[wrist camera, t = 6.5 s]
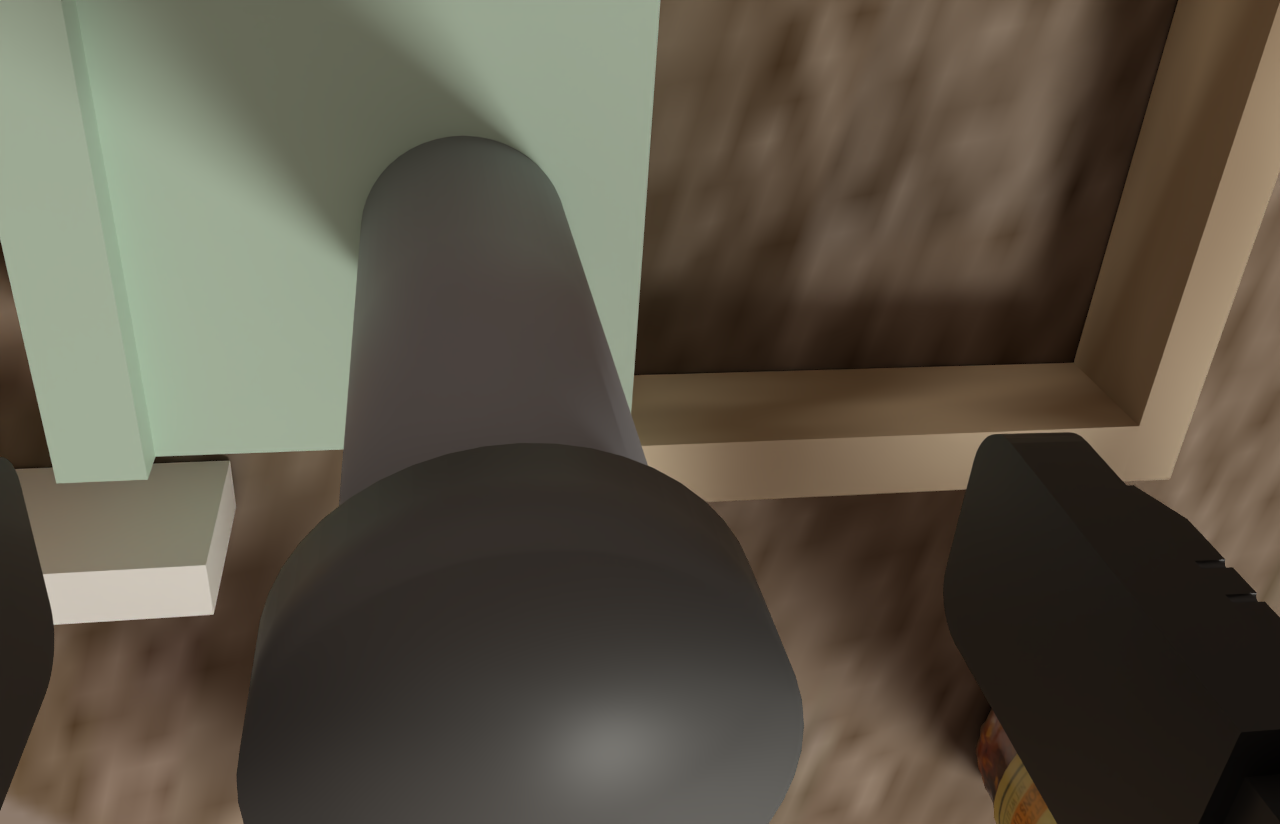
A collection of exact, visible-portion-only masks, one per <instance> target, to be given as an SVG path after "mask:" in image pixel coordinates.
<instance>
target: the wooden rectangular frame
mask: <svg viewBox="0 0 1280 824" xmlns="http://www.w3.org/2000/svg"><path fill="white" fill-rule="evenodd" d="M1279 171H1280V0H1178V2H1177V6H1176V9H1175V13H1174V16H1173V20H1172V23H1171V27H1170V30H1169V34H1168V37H1167V41H1166V44H1165V48H1164V51H1163V54H1162V58H1161V61H1160V65H1159V68H1158V72H1157V75H1156V79H1155V82H1154V86H1153V89H1152V93H1151V96H1150V100H1149V103H1148V106H1147V110H1146V113H1145V117H1144V120H1143V124H1142V127H1141V131H1140V134H1139V138H1138V141H1137V145H1136V148H1135V152H1134V155H1133V158H1132V162H1131V165H1130V169H1129V172H1128V176H1127V179H1126V183H1125V186H1124V190H1123V193H1122V197H1121V200H1120V204H1119V207H1118V211H1117V214H1116V217H1115V221H1114V224H1113V228H1112V231H1111V235H1110V238H1109V242H1108V245H1107V249H1106V252H1105V256H1104V259H1103V263H1102V266H1101V269H1100V273H1099V276H1098V280H1097V283H1096V287H1095V290H1094V294H1093V297H1092V301H1091V304H1090V308H1089V311H1088V315H1087V318H1086V321H1085V325H1084V328H1083V332H1082V335H1081V339H1080V342H1079V346H1078V349H1077V353H1076V356H1075V360H1074V363H1048V364H1013V365H978V366H942V367H907V368H872V369H837V370H802V371H767V372H731V373H696V374H661V375H634V381H633V395H632V409H631V415H632V418H633V421H634V425H635V428H636V431H637V434H638V437H639V440H640V443H641V446H642V449H643V452H644V455H645V458H646V461H647V464H648V466H650V467H652V468H655V469H657V470H658V471H660V472H662V473H664V474H666V475H667V476H669V477H671V478H673V479H675V480H677V481H678V482H680V483H682V484H683V485H684V486H686V487H687V488H688V489H690V490H691V491H692V492H694V493H695V494H696V495H698V496H699V497H700V498H702V499H703V500H704V501H705V502H721V501H741V500H761V499H782V498H802V497H822V496H842V495H863V494H883V493H903V492H923V491H944V490H964V489H966V488H967V485H968V481H969V477H970V473H971V469H972V465H973V461H974V458H975V455H976V452H977V450H978V448H979V446H980V444H981V443H982V441H983V440H984V439H985V438H986V437H988V436H990V435H992V434H1017V433H1056V432H1072V433H1076V434H1078V435H1080V436H1082V437H1083V438H1084V439H1085V440H1086V441H1087V442H1088V443H1089V444H1090V445H1091V447H1092V448H1093V449H1094V450H1095V451H1096V452H1097V453H1098V454H1099V455H1100V457H1101V458H1102V459H1103V460H1104V461H1105V462H1106V463H1107V464H1108V465H1109V467H1110V468H1111V469H1112V470H1113V471H1114V472H1115V473H1116V474H1117V475H1118V476H1119V478H1120V479H1121V480H1122V481H1123V482H1126V481H1146V480H1166V479H1170V477H1171V474H1172V471H1173V469H1174V466H1175V463H1176V460H1177V457H1178V455H1179V452H1180V449H1181V446H1182V443H1183V441H1184V438H1185V435H1186V432H1187V429H1188V427H1189V424H1190V421H1191V418H1192V415H1193V413H1194V410H1195V407H1196V404H1197V401H1198V398H1199V396H1200V393H1201V390H1202V387H1203V384H1204V382H1205V379H1206V376H1207V373H1208V370H1209V368H1210V365H1211V362H1212V359H1213V356H1214V354H1215V351H1216V348H1217V345H1218V342H1219V340H1220V337H1221V334H1222V331H1223V328H1224V326H1225V323H1226V320H1227V317H1228V314H1229V312H1230V309H1231V306H1232V303H1233V300H1234V298H1235V295H1236V292H1237V289H1238V286H1239V284H1240V281H1241V278H1242V275H1243V272H1244V270H1245V267H1246V264H1247V261H1248V258H1249V255H1250V253H1251V250H1252V247H1253V244H1254V241H1255V239H1256V236H1257V233H1258V230H1259V227H1260V225H1261V222H1262V219H1263V216H1264V213H1265V211H1266V208H1267V205H1268V202H1269V199H1270V197H1271V194H1272V191H1273V188H1274V185H1275V183H1276V180H1277V177H1278V174H1279Z"/></svg>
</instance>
